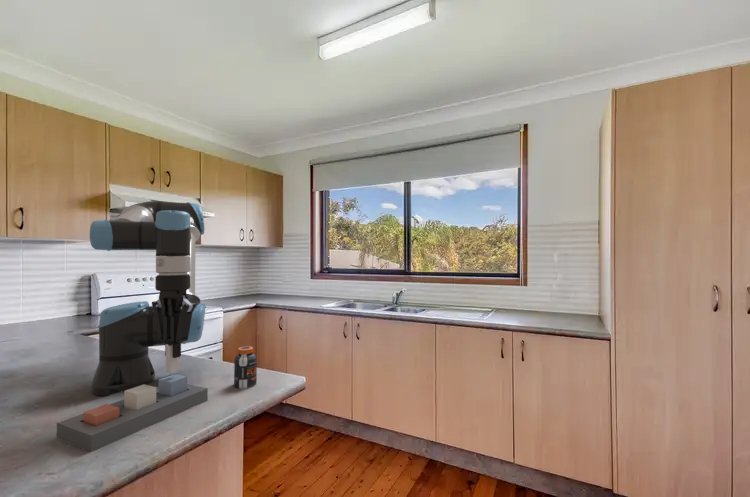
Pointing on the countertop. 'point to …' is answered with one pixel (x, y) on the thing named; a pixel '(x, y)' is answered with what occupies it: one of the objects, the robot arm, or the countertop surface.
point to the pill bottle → (245, 368)
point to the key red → (100, 415)
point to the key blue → (172, 385)
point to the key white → (139, 397)
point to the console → (128, 419)
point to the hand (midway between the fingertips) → (173, 370)
